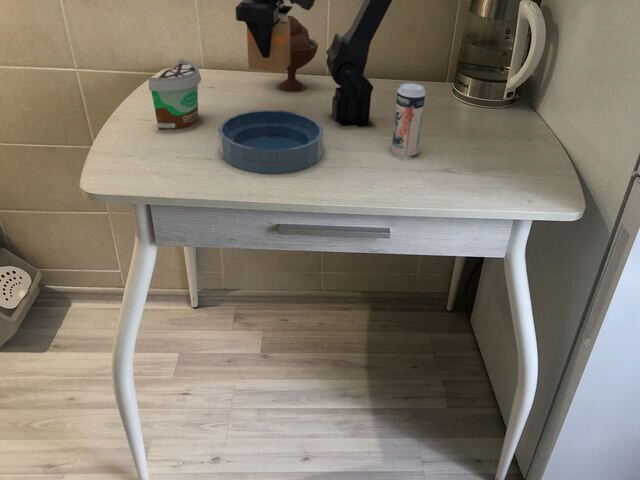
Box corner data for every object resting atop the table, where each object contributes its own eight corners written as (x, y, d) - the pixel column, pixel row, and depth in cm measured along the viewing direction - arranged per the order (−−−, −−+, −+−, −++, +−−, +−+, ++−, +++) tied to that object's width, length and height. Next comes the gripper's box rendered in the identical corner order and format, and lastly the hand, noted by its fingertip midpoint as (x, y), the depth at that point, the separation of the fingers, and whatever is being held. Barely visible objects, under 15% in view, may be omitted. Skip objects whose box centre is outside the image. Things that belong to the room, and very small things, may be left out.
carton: (255, 60, 110) (253, 7, 105) (290, 64, 110) (290, 11, 105) (248, 68, 106) (245, 14, 101) (284, 72, 106) (283, 17, 101)
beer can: (386, 148, 108) (393, 82, 101) (410, 145, 109) (418, 80, 102) (398, 159, 104) (406, 92, 97) (422, 156, 106) (431, 90, 99)
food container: (187, 139, 105) (181, 83, 99) (155, 134, 106) (147, 78, 100) (215, 114, 115) (211, 62, 109) (185, 110, 116) (179, 58, 110)
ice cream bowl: (315, 97, 127) (317, 23, 118) (262, 93, 126) (260, 19, 118) (318, 81, 135) (320, 10, 127) (269, 77, 135) (268, 6, 126)
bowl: (304, 130, 112) (305, 107, 109) (335, 170, 99) (337, 145, 97) (212, 138, 106) (210, 114, 104) (232, 182, 93) (231, 155, 91)
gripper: (304, -30, 90) (303, 74, 99) (325, -48, 105) (322, 44, 114) (231, -37, 90) (237, 67, 99) (263, -53, 105) (265, 38, 115)
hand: (269, 53), depth 107 cm, fingers closed on carton, 5 cm apart
